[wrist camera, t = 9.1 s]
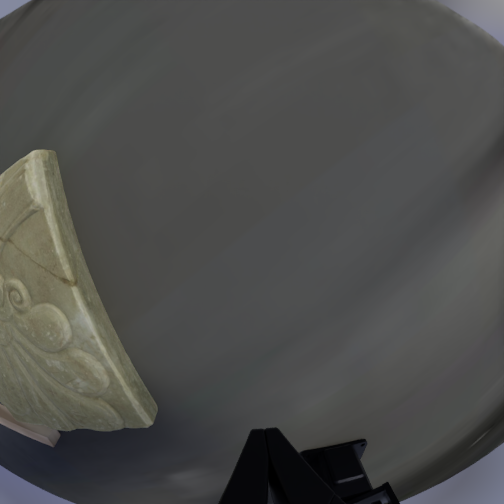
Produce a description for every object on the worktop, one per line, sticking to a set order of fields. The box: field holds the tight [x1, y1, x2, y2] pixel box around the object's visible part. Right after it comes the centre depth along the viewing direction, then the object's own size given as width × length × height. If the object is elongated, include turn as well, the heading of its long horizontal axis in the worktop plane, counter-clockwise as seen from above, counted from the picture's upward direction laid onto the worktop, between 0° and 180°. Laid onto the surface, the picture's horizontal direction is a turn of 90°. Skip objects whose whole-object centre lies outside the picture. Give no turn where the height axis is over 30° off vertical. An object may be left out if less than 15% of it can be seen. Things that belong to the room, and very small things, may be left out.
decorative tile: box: [0, 150, 158, 431], centre depth 14 cm, size 19×20×4 cm
